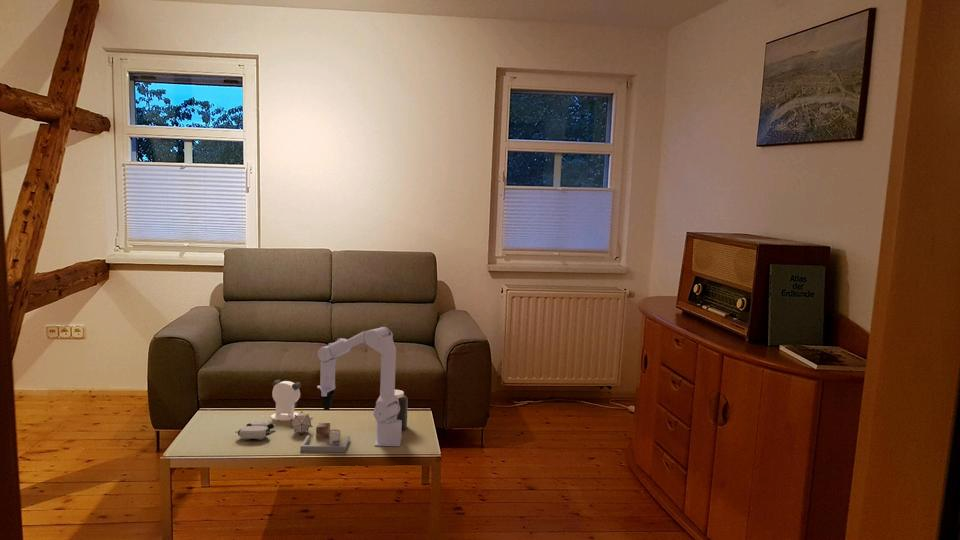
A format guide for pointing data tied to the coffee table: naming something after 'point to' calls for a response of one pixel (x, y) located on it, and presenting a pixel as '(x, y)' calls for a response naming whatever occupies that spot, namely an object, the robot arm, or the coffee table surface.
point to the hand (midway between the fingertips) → (327, 408)
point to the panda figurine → (285, 399)
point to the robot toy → (255, 431)
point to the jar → (402, 408)
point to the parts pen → (323, 446)
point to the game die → (301, 422)
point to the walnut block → (322, 430)
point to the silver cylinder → (334, 437)
